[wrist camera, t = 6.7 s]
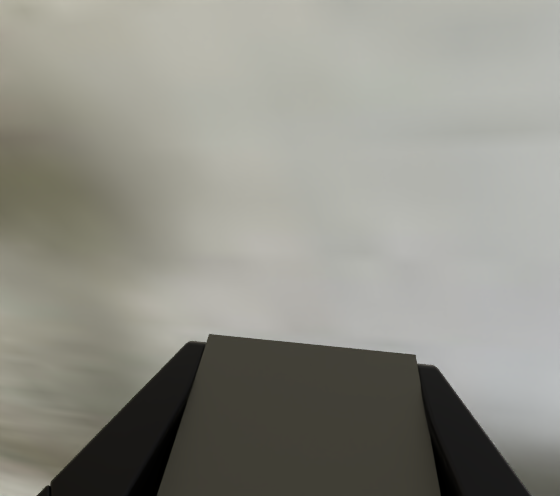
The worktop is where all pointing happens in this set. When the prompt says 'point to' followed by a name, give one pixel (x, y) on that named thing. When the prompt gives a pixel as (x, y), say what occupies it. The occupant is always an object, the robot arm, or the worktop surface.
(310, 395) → the shaft
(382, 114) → the worktop surface
